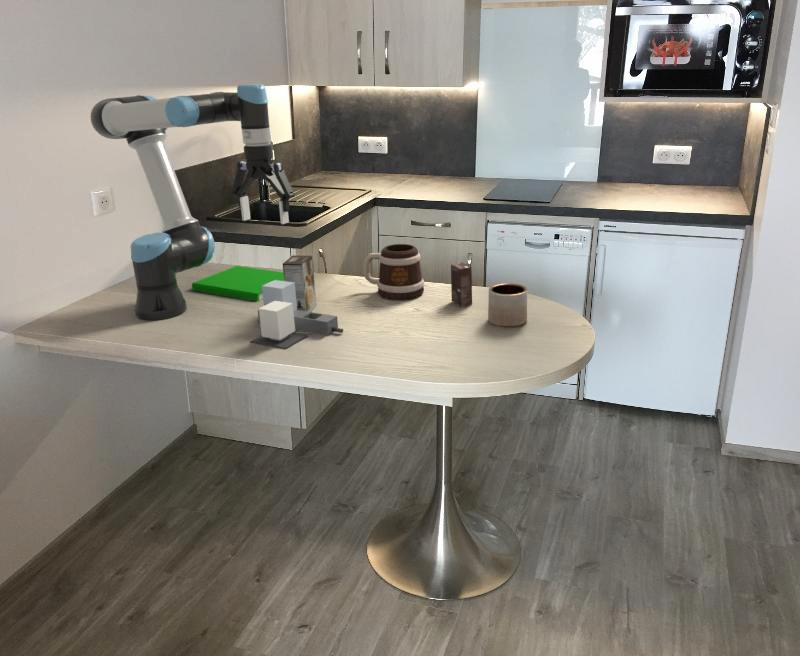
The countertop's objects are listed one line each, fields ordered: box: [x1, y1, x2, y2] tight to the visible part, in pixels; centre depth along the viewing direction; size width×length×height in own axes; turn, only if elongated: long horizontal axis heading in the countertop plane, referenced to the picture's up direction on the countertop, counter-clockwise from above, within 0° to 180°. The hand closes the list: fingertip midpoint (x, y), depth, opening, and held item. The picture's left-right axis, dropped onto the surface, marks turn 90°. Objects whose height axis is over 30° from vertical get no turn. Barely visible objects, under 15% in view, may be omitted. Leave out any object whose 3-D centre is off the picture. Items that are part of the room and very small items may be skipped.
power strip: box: [257, 309, 344, 336], centre depth 204 cm, size 27×5×4 cm, turn 62°
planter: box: [487, 282, 528, 328], centre depth 202 cm, size 11×11×10 cm
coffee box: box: [282, 255, 317, 312], centre depth 215 cm, size 9×6×16 cm
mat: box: [249, 331, 309, 350], centre depth 196 cm, size 12×10×1 cm
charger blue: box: [262, 280, 297, 311], centre depth 205 cm, size 7×6×9 cm
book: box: [191, 265, 284, 302], centre depth 243 cm, size 22×28×3 cm
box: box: [450, 262, 473, 308], centre depth 216 cm, size 6×4×12 cm
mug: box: [362, 243, 425, 301], centre depth 228 cm, size 20×15×15 cm
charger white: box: [258, 301, 296, 341], centre depth 195 cm, size 7×6×9 cm
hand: (265, 221), depth 203 cm, fingers open, 13 cm apart
